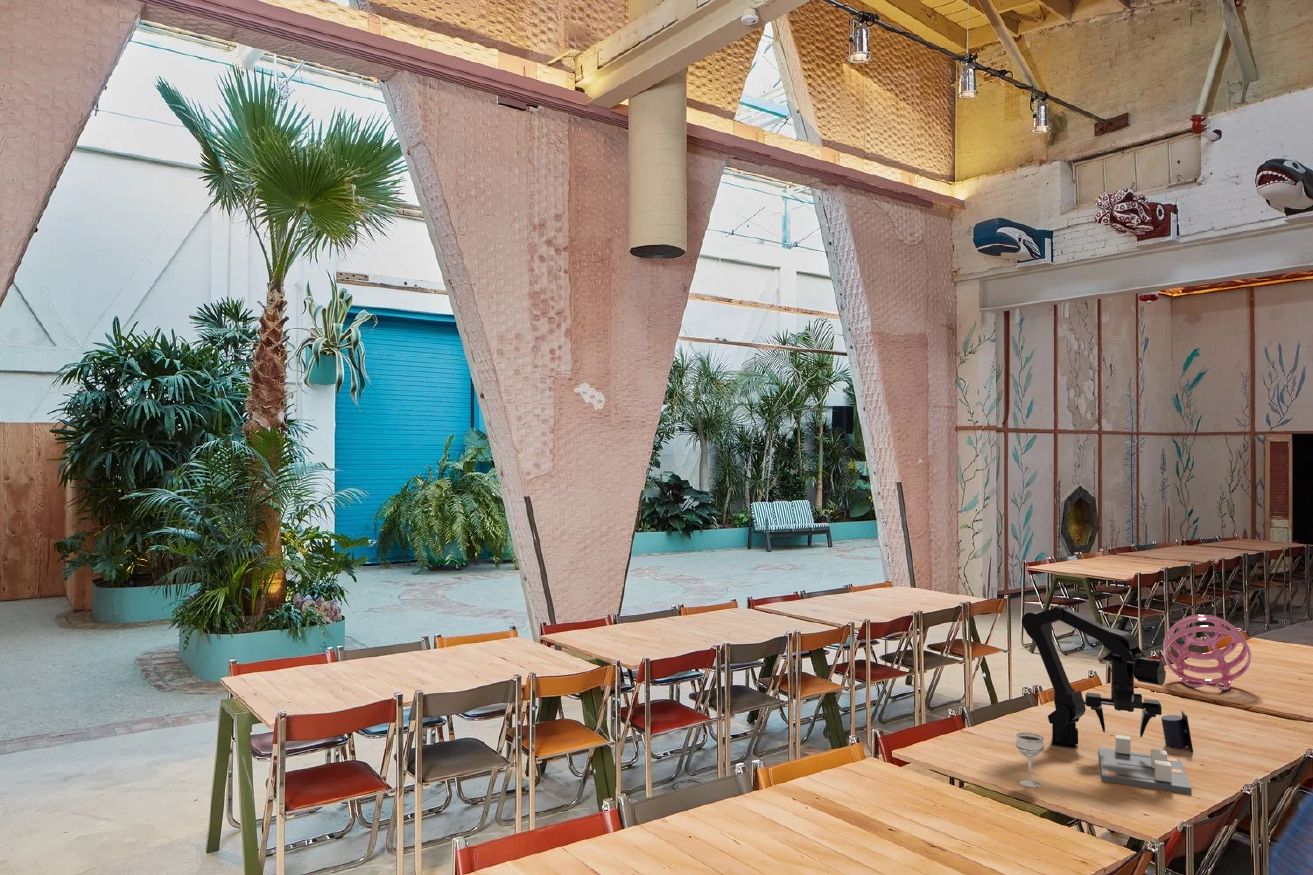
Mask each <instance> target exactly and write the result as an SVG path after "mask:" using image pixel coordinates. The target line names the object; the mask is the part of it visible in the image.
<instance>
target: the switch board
mask: <svg viewBox="0 0 1313 875" xmlns="http://www.w3.org/2000/svg"><path fill="white" fill-rule="evenodd" d="M1098 758H1099V766H1100V774H1101V782H1104V783H1105V782H1106V783H1110V784H1111V783H1112V784H1118V785H1119V784H1120V785H1126V786H1133V787H1140V788H1145V789H1155V790H1161V791H1167V792H1176V793H1181V794H1186V795H1187V794H1188V795H1192V790H1193V789H1192V786H1191V784H1190V781H1189V778H1188V776H1187V774H1186V773H1187V772H1186V770H1185V769H1184V766H1183V764H1182V763H1183V762H1182V760H1181V759H1180V758H1179V757H1173V756H1172V757H1171V756H1167V762H1170V763H1171V766H1172V782H1166V781H1159V780H1156V779H1155V768H1152V765H1151V753H1143V752H1134V751H1130V754H1124V753H1117V752H1116V749H1113V748H1112V749H1111V748H1106V747H1105V748H1104V747H1098Z"/></svg>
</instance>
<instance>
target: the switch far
mask: <svg viewBox="0 0 1313 875" xmlns="http://www.w3.org/2000/svg"><path fill="white" fill-rule="evenodd" d="M1115 750H1116V752H1117V753H1124V754H1130V752H1131V738H1130V736H1129V735H1121V734H1115Z"/></svg>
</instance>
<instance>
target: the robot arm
mask: <svg viewBox="0 0 1313 875" xmlns="http://www.w3.org/2000/svg"><path fill="white" fill-rule="evenodd" d="M1059 621H1060V622H1062V623H1064V624H1066V625H1067V626H1070V627H1072V628H1074V629H1076V630H1078V631H1080V632H1082V633H1083V634H1086V635H1088V636H1089V637H1091V638H1094V639H1095V640H1096V641H1098V642H1099V643H1100V644H1101V645H1102V646H1103V647H1104V648H1105V649H1107V650H1108V651H1109V652H1108V653H1107V654H1106V655H1104V657H1102V659H1103V660H1104V661H1108V662H1109V661H1110V664H1111V665H1110V671H1111V672H1110V683H1111V684H1110V697H1109V698H1108V697H1102V694H1101V693H1095V692H1086V693H1085V695H1084V696H1085V698H1083V692H1081V690H1077V691H1076V690H1075V689H1074V688H1073V687H1072V686H1071V684H1070V681H1069V678H1068V676H1067V673H1066V671H1065V669H1064V666H1063V664H1062V661H1061V658H1060V656H1059V654H1058V651H1057V647H1056V646H1055V644H1054V641H1053V627H1052V626H1053V625H1052V624H1053V623H1055V622H1059ZM1021 624H1022V628H1023V629H1024V631H1025V632H1026V634H1027V636H1029V638H1030V639H1031V640H1033V642H1034V643H1035V645H1036V647H1037V649H1038V653H1039V655H1040V658H1041V660H1042V663H1043V665H1044V667H1045V670H1046V673H1047V675H1048V678H1049V680H1050V682H1051V685H1052V688H1053V692H1054V693H1053V696H1054V697H1053V703H1054V707H1055V710H1053V711H1052V712H1051V713H1050V714H1048V715H1047V719H1048V722H1049V724H1051V725H1052V727H1051V728H1052V729H1051V730H1052V731H1051V733H1052V734H1051V736H1052V737H1051V745H1052V746H1059V747H1066V748H1074V749H1077V745H1079V728H1077V723H1078V722H1079V721H1080V719H1081V717H1083V716H1084V715H1085V713H1086V707H1089V708H1090V710H1091V711H1095V713H1096V715H1097V718H1098V719H1099V723H1100V727H1101V730H1102V732H1103V733H1106V725H1105V717H1104V710H1103V706H1104V705H1105V706H1113V708H1114V710H1116V711H1119V712H1120V711H1125V712H1128V713H1132V712H1134V710H1135V709H1139V710H1141V718H1140V719H1141V720H1140V726H1139V728H1140V729H1139V737H1140V738H1143V735H1144V733H1145V731H1146V728H1147V725H1148V723H1149V722H1150V720H1151V719H1152V718H1156V717H1157V715H1158V716H1161V715H1162V711H1163V710H1162V709H1163V708H1162V704H1161V702H1160V701H1159V700H1158V699H1148V698H1144V699H1143V694H1142V693H1135V680H1136V681H1138V682H1139V683H1145V684H1150V685H1154V686H1155V685H1156V686H1161V687H1162V686H1163V685H1164V684H1165V682H1166V677H1167V672H1166V670H1165V665H1163V660H1162V659H1152V658H1147V657H1146V655H1145V653H1144V652H1143V651H1142V649H1141V648H1140V646H1139V645H1138V641H1137V638H1136V637H1135V635H1133V634H1132V633H1130V632H1128V631H1123V630H1121V629H1117V628H1113V627H1112V628H1111V627H1108V626H1105V625H1103V624H1101V623H1099V622H1098V621H1095V620H1093V619H1091V618H1089V617H1087V616H1085V615H1083V614H1081V613H1080V612H1077V611H1075V610H1073V609H1072V608H1069V606H1067V605H1065V604H1064V605H1056V606H1054V607H1053V608H1050V609H1047V610H1044V611H1043V610H1035V611H1030V612H1026V613H1025V614H1024V615H1023V616H1022V618H1021ZM1162 716H1163V715H1162Z"/></svg>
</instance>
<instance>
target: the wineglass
mask: <svg viewBox="0 0 1313 875" xmlns="http://www.w3.org/2000/svg"><path fill="white" fill-rule="evenodd" d="M1015 735H1016V740H1015V745H1016V746H1015V747H1016V749H1017V751H1018V752H1019V753H1020V754H1021V755H1023V756H1024V757H1026V759H1027V761H1028V762H1027V763H1028V779H1023V780H1020V781H1019V784H1020V785H1022V786H1024V787H1028V788H1039V787H1041V784H1040V782H1037V781H1034V780H1032V778H1031V777H1032V761H1033V760H1034V758H1036V757H1039V756H1040V755H1041V754H1043V752H1044V751H1045V750H1044V749H1045V744H1044V741H1045V740H1044V739H1045V738H1044V736H1042V735H1040V734H1037V733H1032V732H1018V733H1016V734H1015Z"/></svg>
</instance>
